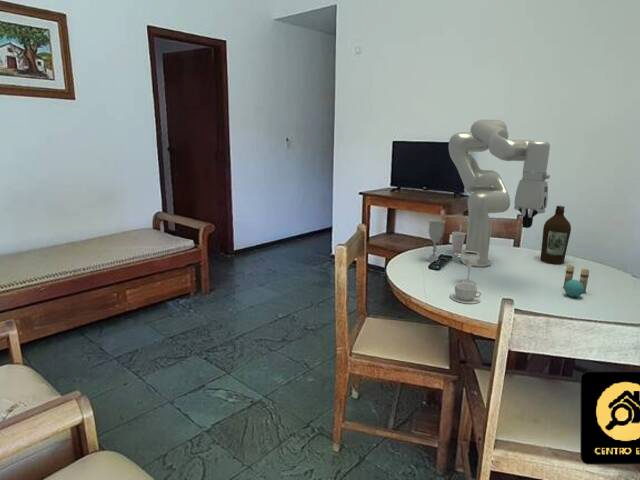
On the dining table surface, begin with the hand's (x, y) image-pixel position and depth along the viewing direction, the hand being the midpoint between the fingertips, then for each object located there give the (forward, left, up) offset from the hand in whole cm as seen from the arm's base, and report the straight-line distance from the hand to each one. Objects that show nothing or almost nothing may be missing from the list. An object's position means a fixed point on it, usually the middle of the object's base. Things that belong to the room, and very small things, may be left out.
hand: (526, 227), depth 156 cm
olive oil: (+25, +33, -22) cm, 47 cm away
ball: (+15, -10, -19) cm, 26 cm away
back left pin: (+17, -2, -22) cm, 28 cm away
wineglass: (-19, -1, -22) cm, 29 cm away
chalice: (-28, +25, -22) cm, 44 cm away
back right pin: (+20, -5, -22) cm, 30 cm away
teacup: (-23, -18, -23) cm, 37 cm away
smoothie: (-15, +40, -22) cm, 48 cm away
